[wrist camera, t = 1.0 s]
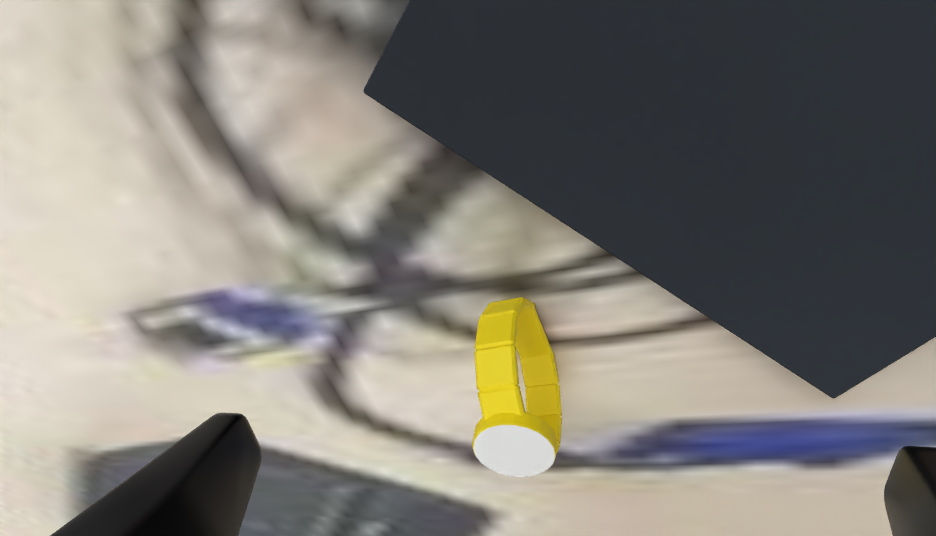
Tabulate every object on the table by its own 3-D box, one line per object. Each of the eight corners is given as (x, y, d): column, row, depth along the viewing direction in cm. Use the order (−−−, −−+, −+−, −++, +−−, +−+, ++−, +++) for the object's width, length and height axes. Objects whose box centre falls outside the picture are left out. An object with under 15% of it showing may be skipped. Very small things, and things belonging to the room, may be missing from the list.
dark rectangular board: (1240, 110, 16) (1281, 127, 15) (824, 376, 24) (833, 400, 23) (645, -437, 13) (648, -460, 12) (373, 80, 20) (361, 92, 19)
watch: (472, 279, 24) (439, 390, 19) (540, 265, 23) (524, 379, 18) (518, 387, 27) (500, 508, 22) (580, 379, 26) (576, 503, 21)
